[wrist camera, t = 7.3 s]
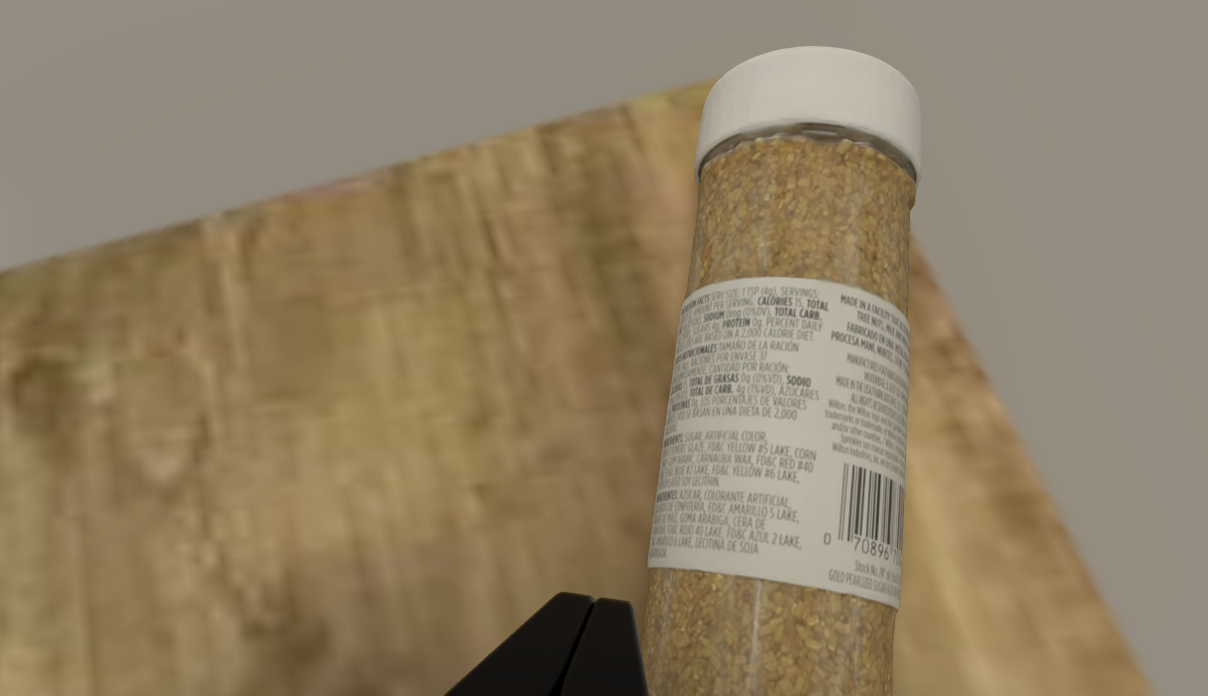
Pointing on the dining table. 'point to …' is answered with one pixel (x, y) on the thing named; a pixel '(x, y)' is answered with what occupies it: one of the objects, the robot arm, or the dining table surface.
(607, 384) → the dining table surface
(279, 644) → the dining table surface
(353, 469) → the dining table surface
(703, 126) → the sprinkles bottle
